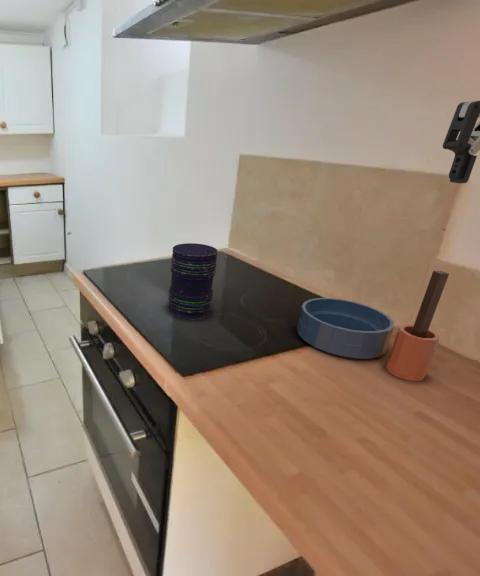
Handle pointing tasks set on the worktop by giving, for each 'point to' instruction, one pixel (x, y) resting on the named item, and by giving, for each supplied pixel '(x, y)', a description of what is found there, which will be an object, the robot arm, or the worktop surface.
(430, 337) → the utensil holder
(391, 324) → the bowl
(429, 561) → the worktop surface
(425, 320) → the stirring stick
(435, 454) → the worktop surface
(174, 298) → the storage jar
